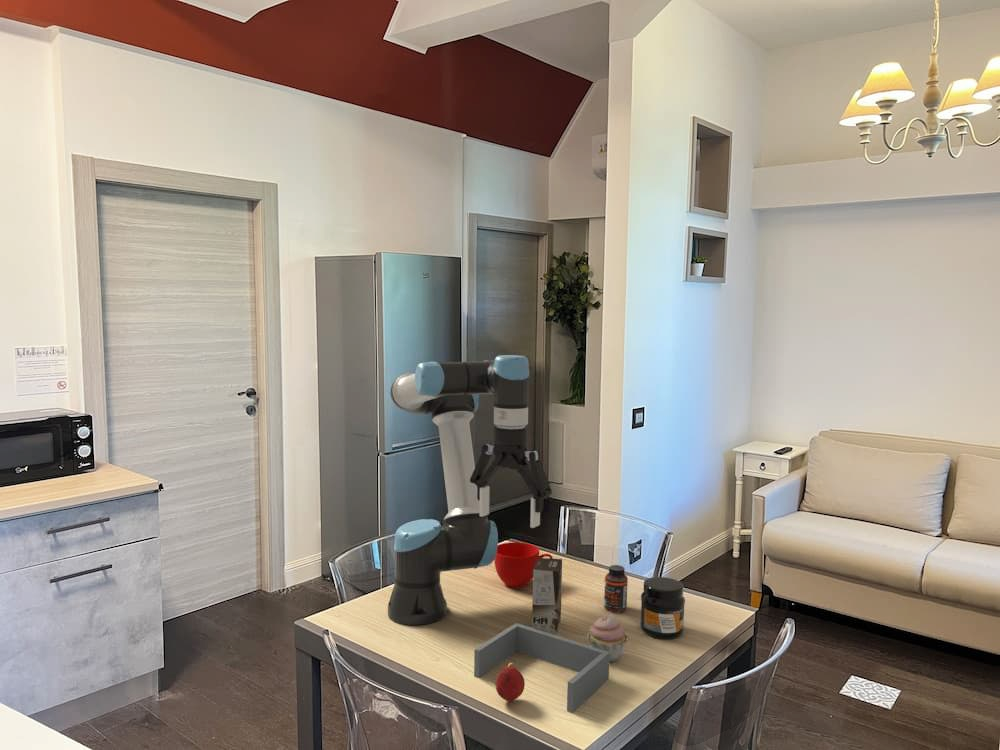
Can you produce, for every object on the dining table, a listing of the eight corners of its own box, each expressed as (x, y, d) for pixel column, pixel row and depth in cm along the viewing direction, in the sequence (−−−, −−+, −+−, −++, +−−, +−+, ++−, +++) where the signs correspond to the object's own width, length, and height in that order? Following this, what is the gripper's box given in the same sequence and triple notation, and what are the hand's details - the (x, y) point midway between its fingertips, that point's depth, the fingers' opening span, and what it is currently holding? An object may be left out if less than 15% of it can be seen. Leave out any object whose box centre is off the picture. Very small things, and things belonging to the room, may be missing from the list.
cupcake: (584, 646, 171) (585, 605, 170) (624, 647, 171) (625, 606, 170) (587, 665, 162) (589, 622, 161) (630, 667, 162) (631, 623, 161)
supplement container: (670, 644, 173) (671, 595, 172) (631, 631, 180) (633, 583, 179) (691, 630, 181) (693, 583, 179) (654, 617, 188) (655, 572, 186)
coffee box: (557, 636, 176) (558, 571, 175) (530, 633, 178) (532, 569, 176) (561, 620, 185) (563, 558, 184) (536, 617, 187) (537, 556, 185)
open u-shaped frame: (474, 675, 157) (474, 649, 156) (515, 647, 170) (515, 623, 169) (572, 712, 143) (573, 683, 143) (608, 679, 156) (609, 652, 156)
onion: (514, 712, 143) (514, 673, 142) (489, 703, 146) (490, 665, 145) (529, 699, 148) (530, 661, 147) (505, 691, 151) (505, 653, 150)
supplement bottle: (601, 611, 191) (602, 569, 190) (606, 602, 197) (608, 561, 196) (624, 615, 189) (625, 572, 188) (628, 606, 194) (630, 565, 193)
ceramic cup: (553, 593, 203) (554, 558, 202) (492, 591, 203) (493, 556, 202) (551, 575, 216) (552, 542, 215) (493, 574, 216) (494, 541, 215)
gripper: (455, 422, 164) (454, 514, 166) (550, 434, 150) (548, 535, 152) (475, 418, 170) (474, 507, 172) (568, 429, 156) (566, 526, 158)
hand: (509, 520), depth 162 cm, fingers open, 13 cm apart
